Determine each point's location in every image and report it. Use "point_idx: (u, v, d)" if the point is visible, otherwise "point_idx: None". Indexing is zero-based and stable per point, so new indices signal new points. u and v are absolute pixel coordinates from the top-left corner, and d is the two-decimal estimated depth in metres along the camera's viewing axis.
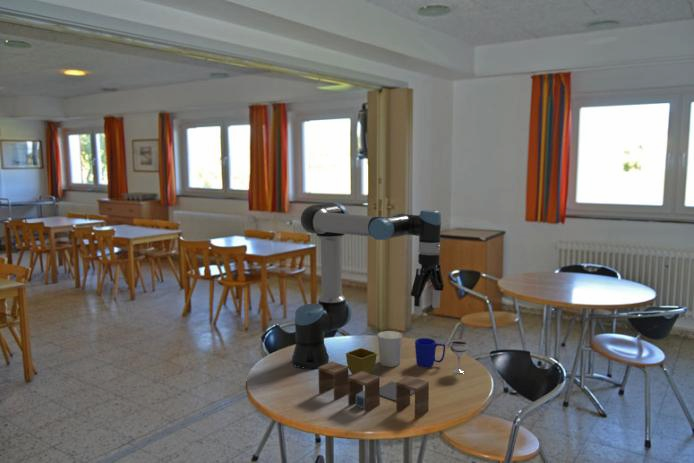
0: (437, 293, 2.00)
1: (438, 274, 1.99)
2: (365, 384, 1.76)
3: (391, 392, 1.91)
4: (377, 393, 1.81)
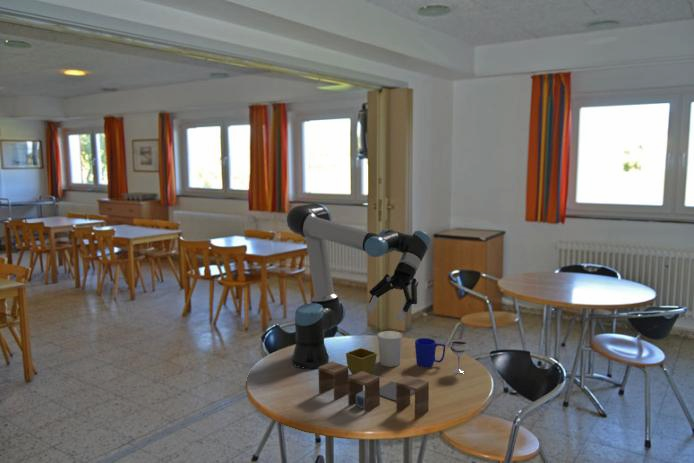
0: (376, 300, 2.00)
1: (384, 284, 2.03)
2: (365, 384, 1.76)
3: (391, 392, 1.91)
4: (377, 393, 1.81)
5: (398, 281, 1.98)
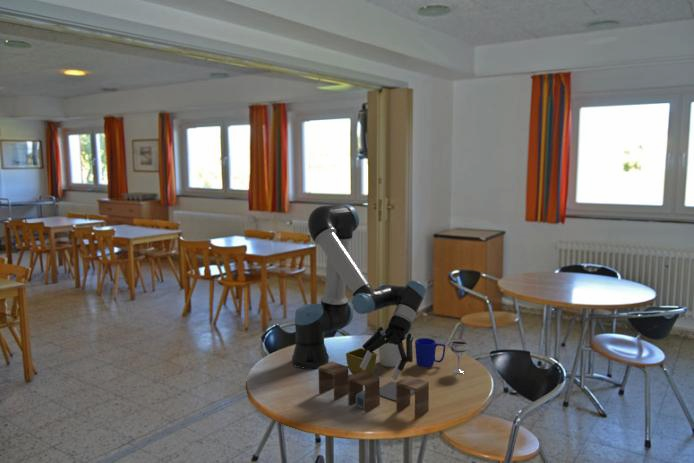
0: (370, 355, 1.91)
1: (378, 338, 1.94)
2: (365, 384, 1.76)
3: (391, 392, 1.91)
4: (377, 393, 1.81)
5: (392, 336, 1.89)
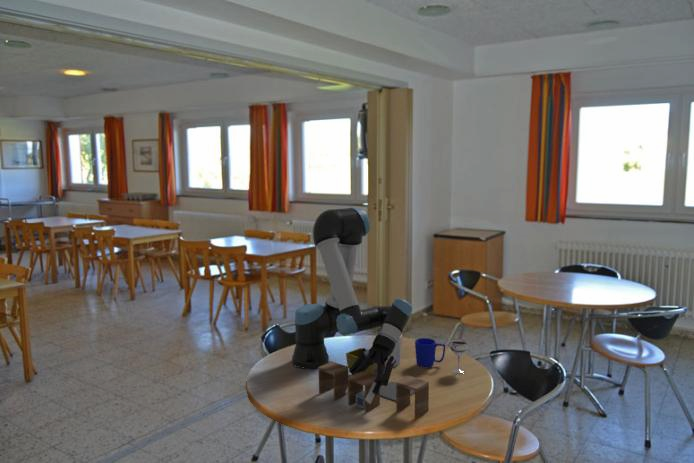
0: None
1: (363, 360, 1.89)
2: (365, 384, 1.76)
3: (391, 392, 1.91)
4: (377, 393, 1.81)
5: (376, 355, 1.85)
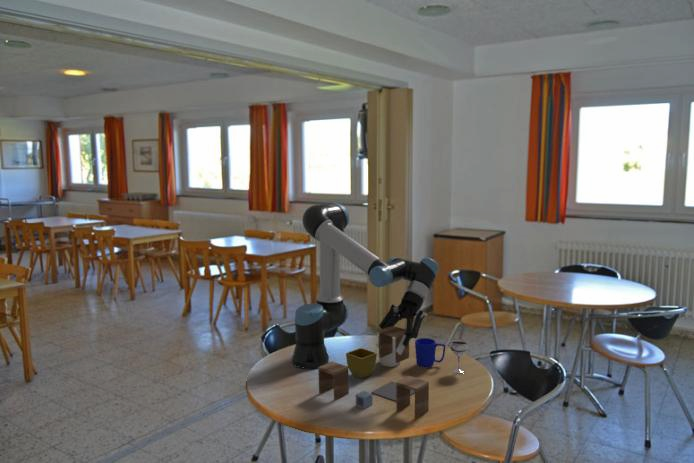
0: None
1: (392, 316, 1.97)
2: (396, 336, 1.84)
3: (391, 392, 1.91)
4: (407, 346, 1.89)
5: (405, 310, 1.93)
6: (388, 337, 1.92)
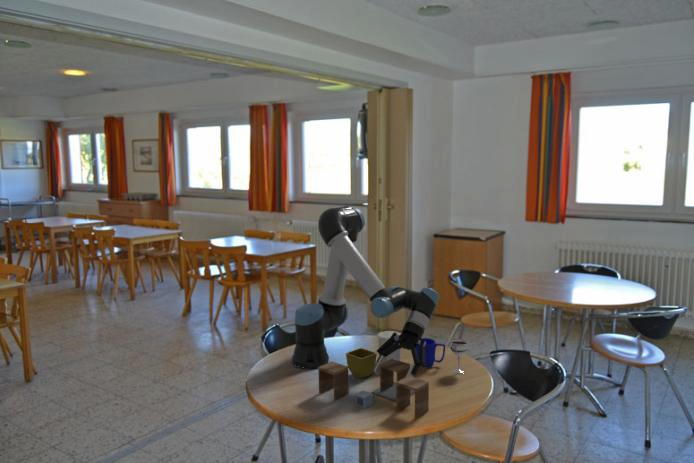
0: (384, 360, 1.97)
1: (392, 343, 2.00)
2: (397, 370, 1.86)
3: (391, 392, 1.91)
4: None
5: (406, 341, 1.95)
6: (389, 370, 1.94)
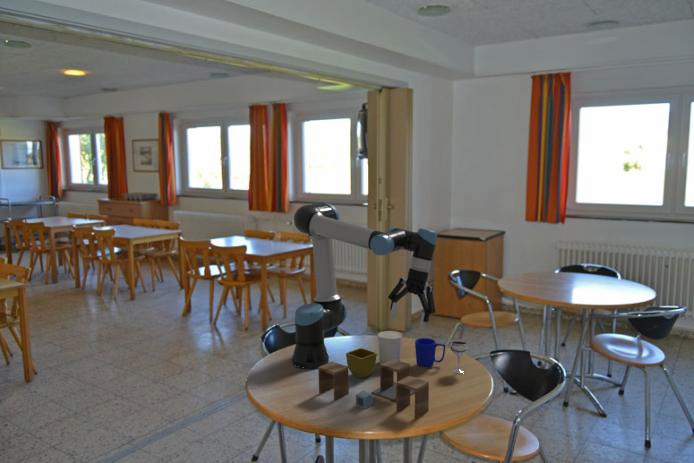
0: (397, 305, 2.07)
1: (401, 287, 2.07)
2: (397, 370, 1.86)
3: (391, 392, 1.91)
4: None
5: (413, 288, 2.02)
6: (389, 370, 1.94)
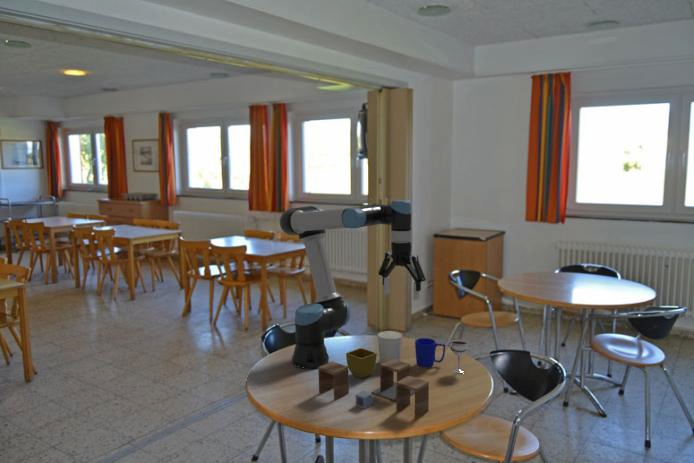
0: (388, 279, 2.09)
1: (388, 261, 2.08)
2: (397, 370, 1.86)
3: (391, 392, 1.91)
4: None
5: (399, 260, 2.02)
6: (389, 370, 1.94)
